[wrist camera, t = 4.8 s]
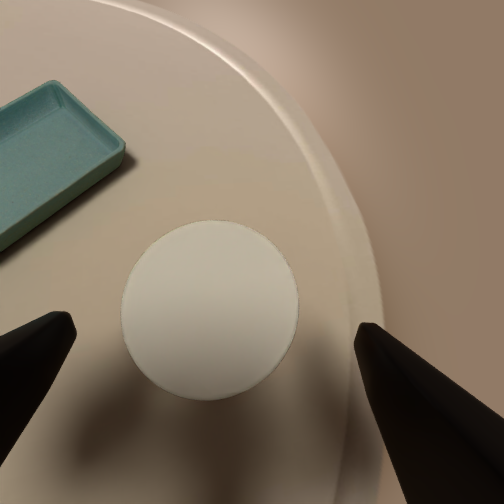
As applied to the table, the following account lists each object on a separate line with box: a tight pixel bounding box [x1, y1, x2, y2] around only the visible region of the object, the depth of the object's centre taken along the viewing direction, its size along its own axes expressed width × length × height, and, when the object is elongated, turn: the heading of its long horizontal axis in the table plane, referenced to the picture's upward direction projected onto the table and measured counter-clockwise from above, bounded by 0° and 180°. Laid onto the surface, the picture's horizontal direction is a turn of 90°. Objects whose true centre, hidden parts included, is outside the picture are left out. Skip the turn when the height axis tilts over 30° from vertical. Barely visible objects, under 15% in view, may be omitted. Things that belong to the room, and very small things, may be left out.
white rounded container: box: [121, 220, 299, 401], centre depth 11 cm, size 6×6×10 cm
